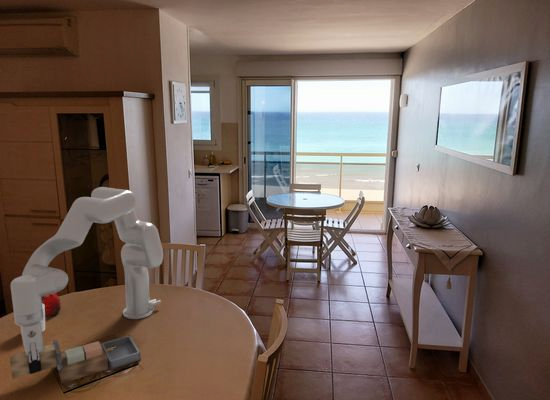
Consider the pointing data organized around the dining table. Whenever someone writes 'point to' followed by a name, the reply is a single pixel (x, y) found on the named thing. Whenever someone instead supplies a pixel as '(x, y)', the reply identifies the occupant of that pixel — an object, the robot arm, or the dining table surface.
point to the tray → (121, 352)
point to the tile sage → (74, 355)
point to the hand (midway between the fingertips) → (35, 368)
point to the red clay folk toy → (51, 304)
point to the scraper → (47, 357)
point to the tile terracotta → (92, 350)
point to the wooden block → (82, 367)
